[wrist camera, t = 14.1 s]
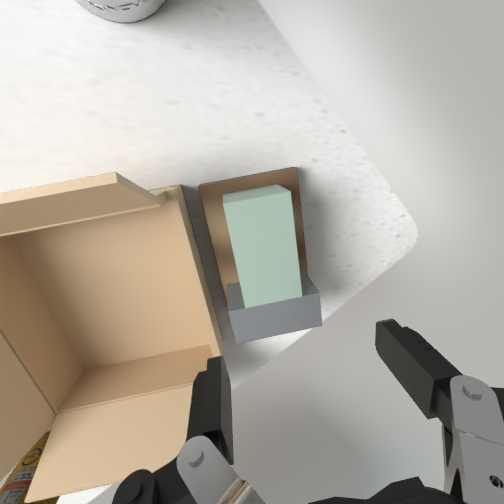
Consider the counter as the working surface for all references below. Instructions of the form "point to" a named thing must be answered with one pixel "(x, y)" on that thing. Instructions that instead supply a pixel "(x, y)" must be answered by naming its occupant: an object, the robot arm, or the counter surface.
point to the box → (267, 267)
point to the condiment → (25, 476)
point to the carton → (99, 329)
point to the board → (218, 223)
